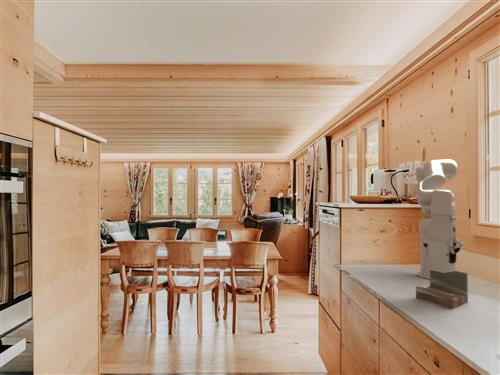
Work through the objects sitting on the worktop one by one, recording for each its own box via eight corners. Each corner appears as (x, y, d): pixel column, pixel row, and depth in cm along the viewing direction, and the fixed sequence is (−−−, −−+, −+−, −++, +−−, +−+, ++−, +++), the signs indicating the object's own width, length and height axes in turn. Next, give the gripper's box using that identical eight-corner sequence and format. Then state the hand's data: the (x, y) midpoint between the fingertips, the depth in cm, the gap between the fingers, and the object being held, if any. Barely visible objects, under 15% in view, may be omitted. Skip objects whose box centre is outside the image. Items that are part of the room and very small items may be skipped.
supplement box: (445, 273, 122) (445, 241, 123) (427, 269, 129) (427, 239, 129) (455, 271, 126) (455, 240, 126) (437, 267, 132) (437, 238, 133)
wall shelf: (431, 292, 137) (431, 265, 137) (467, 301, 126) (467, 272, 126) (415, 298, 129) (415, 269, 129) (452, 308, 118) (452, 277, 118)
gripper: (469, 220, 123) (469, 264, 122) (424, 217, 137) (424, 256, 137) (461, 221, 119) (461, 266, 118) (415, 218, 133) (415, 258, 133)
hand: (441, 260), depth 128 cm, fingers closed on supplement box, 7 cm apart
